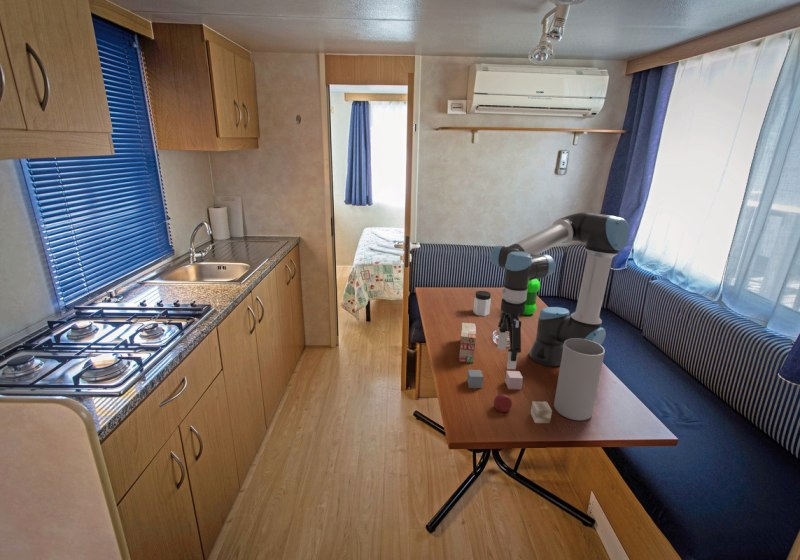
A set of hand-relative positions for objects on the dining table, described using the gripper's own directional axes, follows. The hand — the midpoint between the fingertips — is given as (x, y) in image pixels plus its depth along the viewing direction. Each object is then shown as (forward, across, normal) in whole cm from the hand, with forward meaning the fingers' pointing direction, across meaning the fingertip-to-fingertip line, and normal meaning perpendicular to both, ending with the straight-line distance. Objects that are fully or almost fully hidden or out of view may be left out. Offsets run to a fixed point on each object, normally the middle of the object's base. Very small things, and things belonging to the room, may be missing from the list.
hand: (506, 358), depth 139 cm
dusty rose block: (+19, -14, +8) cm, 25 cm away
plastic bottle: (+19, -89, +35) cm, 98 cm away
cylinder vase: (+19, +1, +25) cm, 32 cm away
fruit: (+19, 0, 0) cm, 19 cm away
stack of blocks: (+19, -42, -6) cm, 46 cm away
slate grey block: (+19, -14, -7) cm, 25 cm away
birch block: (+19, +6, +12) cm, 24 cm away
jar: (+19, -87, +9) cm, 90 cm away
